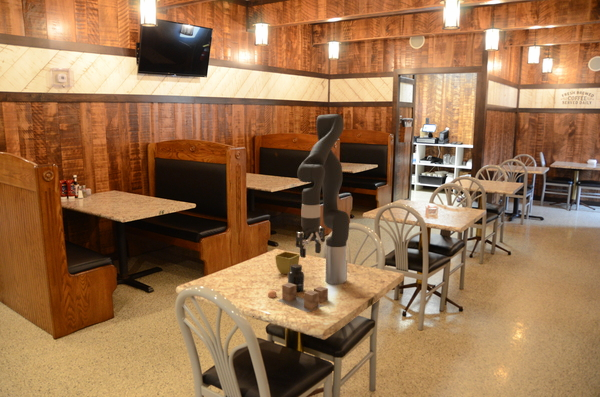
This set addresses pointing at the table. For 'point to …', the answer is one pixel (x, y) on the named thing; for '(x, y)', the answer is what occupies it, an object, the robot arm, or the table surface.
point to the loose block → (322, 293)
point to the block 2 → (311, 300)
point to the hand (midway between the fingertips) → (310, 255)
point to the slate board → (298, 304)
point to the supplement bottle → (296, 277)
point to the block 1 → (289, 292)
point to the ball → (272, 294)
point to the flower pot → (286, 261)
